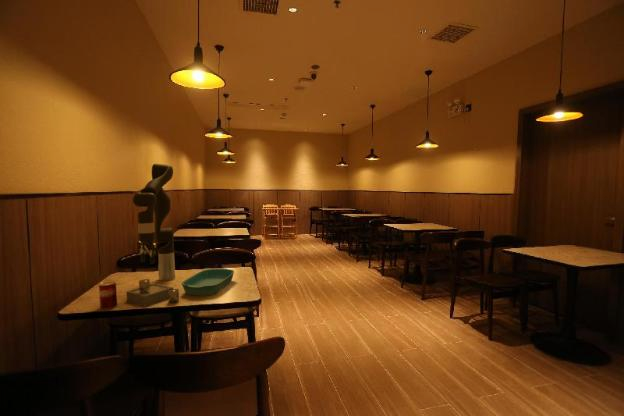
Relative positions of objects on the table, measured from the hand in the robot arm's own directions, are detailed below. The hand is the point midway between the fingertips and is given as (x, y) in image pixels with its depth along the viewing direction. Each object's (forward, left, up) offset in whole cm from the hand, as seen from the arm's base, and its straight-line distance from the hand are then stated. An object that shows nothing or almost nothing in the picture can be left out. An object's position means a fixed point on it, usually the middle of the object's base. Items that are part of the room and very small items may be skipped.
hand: (148, 262), depth 164 cm
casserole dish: (+11, +31, -21) cm, 39 cm away
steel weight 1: (-3, -1, -16) cm, 16 cm away
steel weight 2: (+12, +5, -20) cm, 24 cm away
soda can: (-11, -15, -21) cm, 28 cm away
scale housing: (-3, +2, -20) cm, 21 cm away
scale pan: (-3, +2, -17) cm, 18 cm away
